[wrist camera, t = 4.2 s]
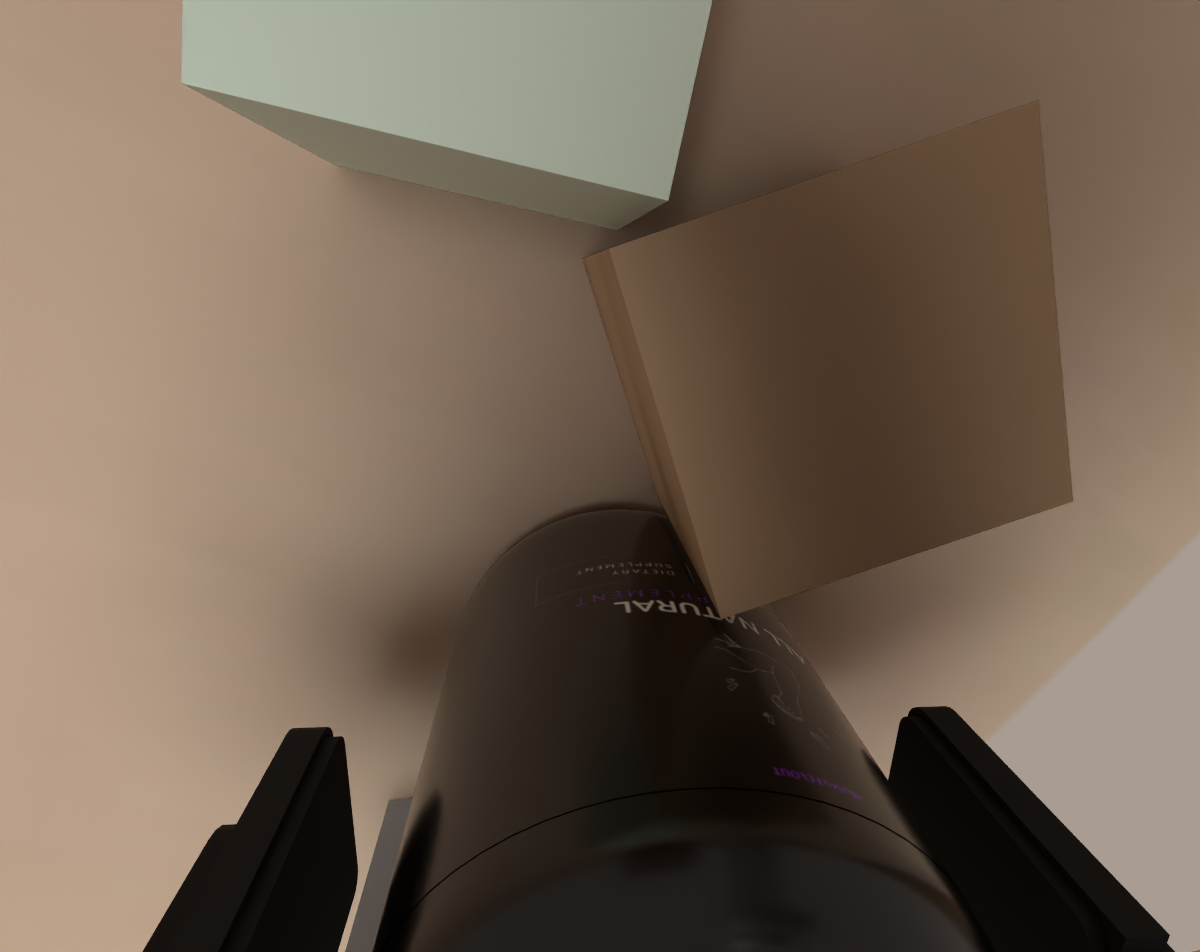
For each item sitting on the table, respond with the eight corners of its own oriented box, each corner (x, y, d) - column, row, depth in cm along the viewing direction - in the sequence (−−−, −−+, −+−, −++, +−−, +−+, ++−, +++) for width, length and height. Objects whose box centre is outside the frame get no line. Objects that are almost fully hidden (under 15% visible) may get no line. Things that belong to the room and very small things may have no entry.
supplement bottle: (727, 458, 13) (1906, 1643, 2) (782, 719, 15) (1477, 2012, 4) (408, 549, 13) (-446, 2317, 2) (508, 797, 15) (411, 2314, 4)
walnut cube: (837, 169, 12) (1037, 100, 7) (883, 419, 13) (1073, 501, 9) (582, 258, 12) (608, 248, 7) (657, 496, 13) (721, 619, 9)
